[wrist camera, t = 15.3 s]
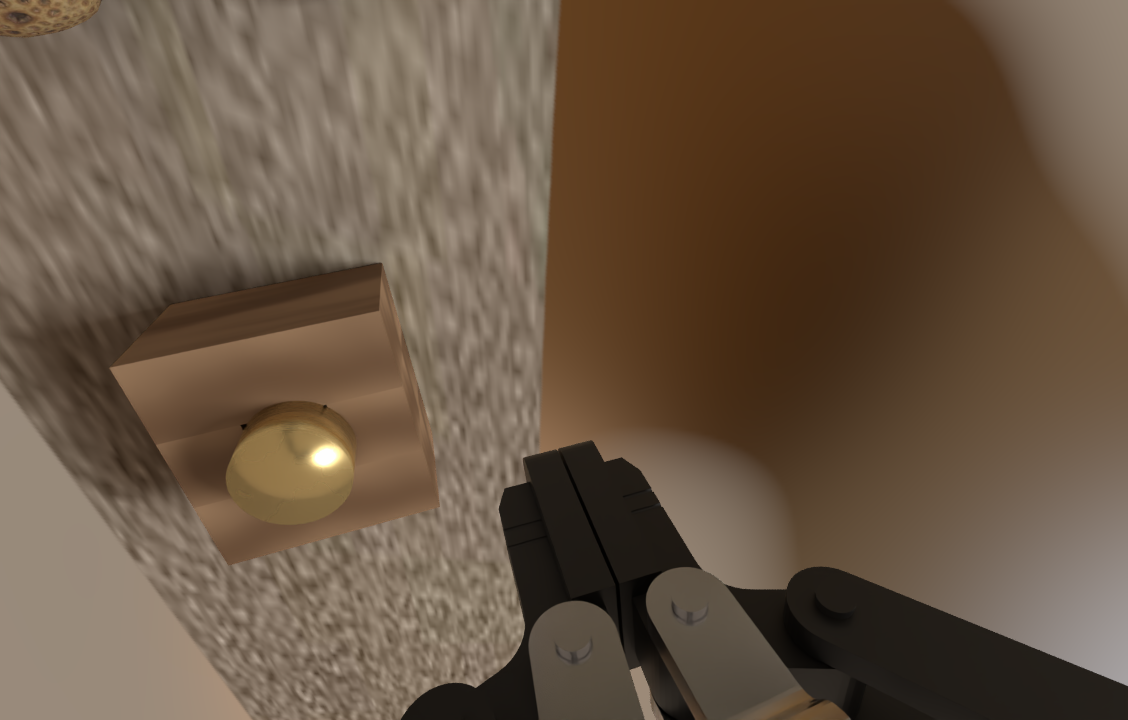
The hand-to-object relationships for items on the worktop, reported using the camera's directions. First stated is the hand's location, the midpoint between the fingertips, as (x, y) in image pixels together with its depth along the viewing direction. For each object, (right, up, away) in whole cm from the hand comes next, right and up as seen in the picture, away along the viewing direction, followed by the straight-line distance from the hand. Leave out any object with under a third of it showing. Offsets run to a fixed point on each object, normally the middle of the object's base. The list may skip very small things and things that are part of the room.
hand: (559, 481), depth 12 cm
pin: (-16, +1, +23) cm, 28 cm away
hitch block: (-16, +2, +24) cm, 29 cm away
